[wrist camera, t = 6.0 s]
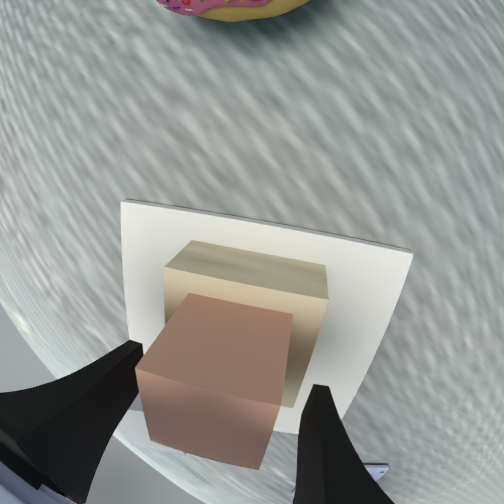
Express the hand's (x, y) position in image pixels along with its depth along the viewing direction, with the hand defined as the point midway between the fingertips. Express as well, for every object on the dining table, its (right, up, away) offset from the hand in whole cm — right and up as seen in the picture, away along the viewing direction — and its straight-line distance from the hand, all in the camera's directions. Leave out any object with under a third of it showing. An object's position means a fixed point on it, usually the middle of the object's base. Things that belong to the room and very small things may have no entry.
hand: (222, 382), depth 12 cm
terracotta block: (0, +1, +2) cm, 2 cm away
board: (+1, 0, +7) cm, 7 cm away
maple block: (+1, +2, +5) cm, 6 cm away
